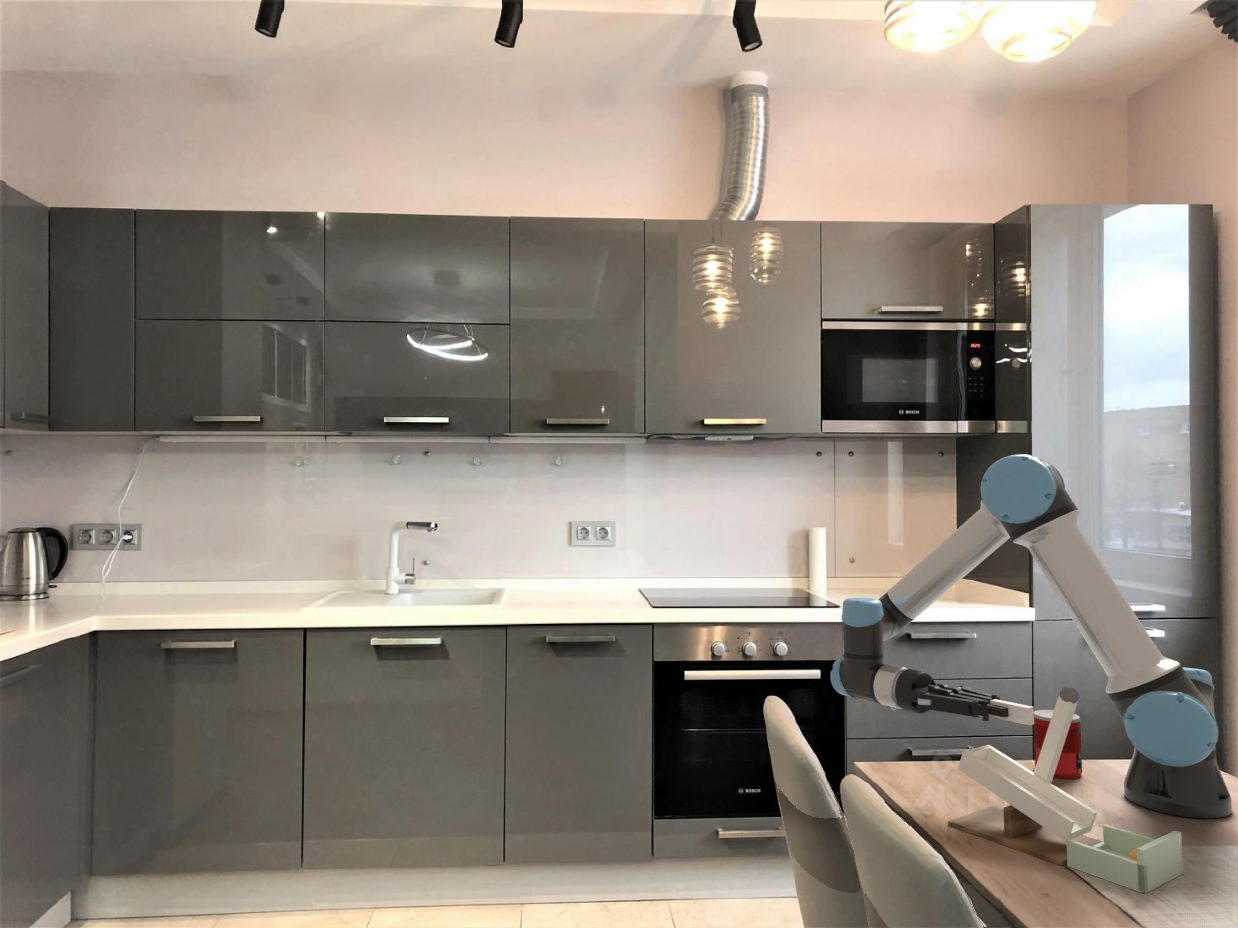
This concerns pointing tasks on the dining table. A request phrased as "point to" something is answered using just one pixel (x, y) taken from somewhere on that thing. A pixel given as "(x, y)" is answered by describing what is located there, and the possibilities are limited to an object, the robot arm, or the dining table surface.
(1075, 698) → the seesaw
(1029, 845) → the stand
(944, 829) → the dining table surface
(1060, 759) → the canned food
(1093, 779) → the dining table surface
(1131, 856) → the ball
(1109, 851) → the tray
